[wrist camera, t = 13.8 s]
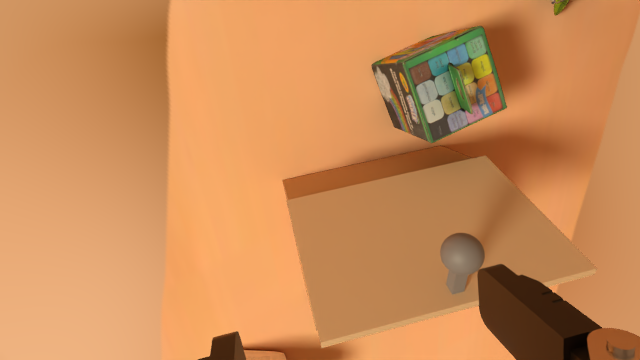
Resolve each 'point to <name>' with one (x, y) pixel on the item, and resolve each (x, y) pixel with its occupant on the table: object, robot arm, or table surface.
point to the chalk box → (440, 84)
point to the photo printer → (264, 355)
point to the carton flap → (420, 246)
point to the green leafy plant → (559, 5)
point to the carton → (368, 174)
